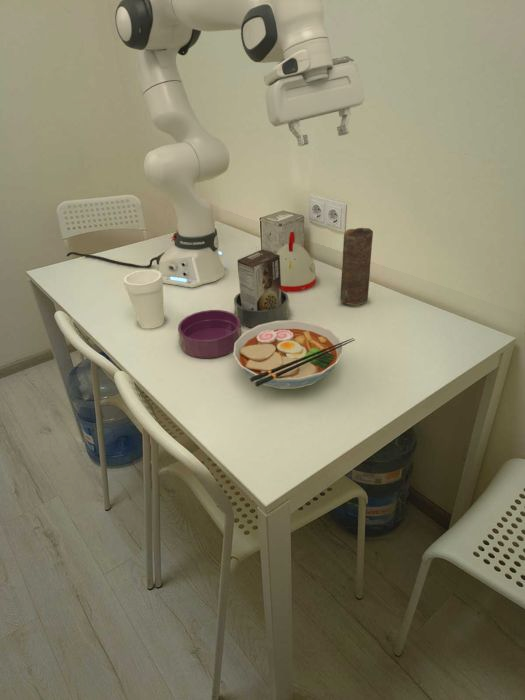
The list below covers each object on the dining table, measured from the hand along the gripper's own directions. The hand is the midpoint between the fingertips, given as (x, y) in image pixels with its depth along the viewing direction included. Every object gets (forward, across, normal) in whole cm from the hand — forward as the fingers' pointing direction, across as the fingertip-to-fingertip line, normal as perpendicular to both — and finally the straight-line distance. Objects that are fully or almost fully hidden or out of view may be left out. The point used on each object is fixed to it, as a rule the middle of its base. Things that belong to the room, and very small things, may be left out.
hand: (324, 140), depth 96 cm
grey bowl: (+37, +14, -24) cm, 46 cm away
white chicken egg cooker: (+35, -3, -39) cm, 52 cm away
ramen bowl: (+44, +21, +2) cm, 49 cm away
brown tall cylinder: (+41, -10, -19) cm, 47 cm away
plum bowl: (+37, +30, -18) cm, 51 cm away
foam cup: (+32, +41, -35) cm, 62 cm away
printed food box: (+37, +14, -24) cm, 46 cm away
